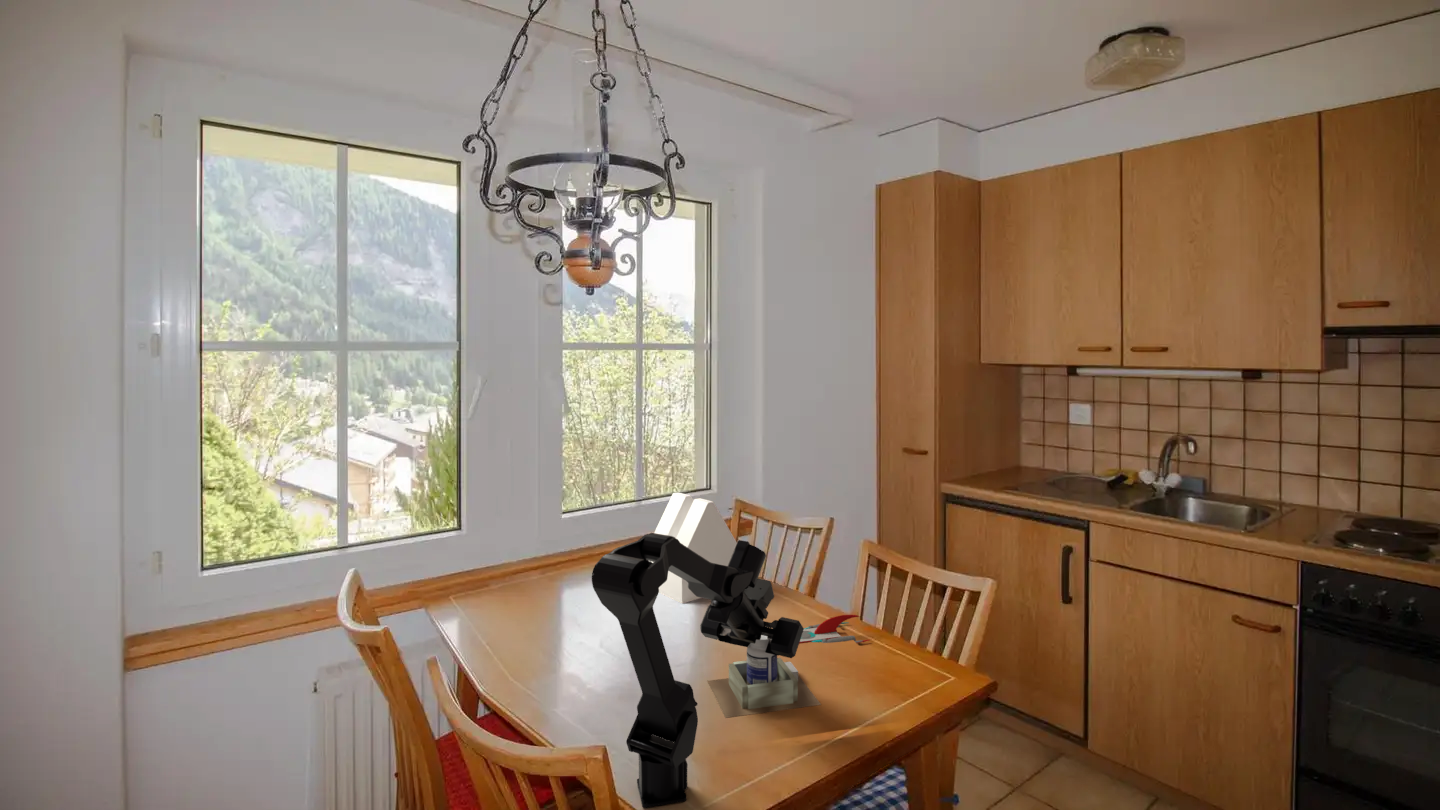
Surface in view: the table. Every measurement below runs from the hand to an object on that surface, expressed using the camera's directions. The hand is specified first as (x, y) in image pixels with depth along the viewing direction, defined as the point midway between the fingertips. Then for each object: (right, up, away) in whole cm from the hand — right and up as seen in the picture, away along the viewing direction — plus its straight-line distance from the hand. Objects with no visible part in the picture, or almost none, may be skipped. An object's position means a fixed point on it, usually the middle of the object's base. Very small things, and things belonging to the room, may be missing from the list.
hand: (765, 648), depth 133 cm
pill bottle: (-1, -7, -1) cm, 7 cm away
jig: (-1, -9, 0) cm, 9 cm away
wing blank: (+5, -8, +6) cm, 11 cm away
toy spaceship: (+10, -8, +25) cm, 28 cm away
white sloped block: (-16, -4, +60) cm, 62 cm away
